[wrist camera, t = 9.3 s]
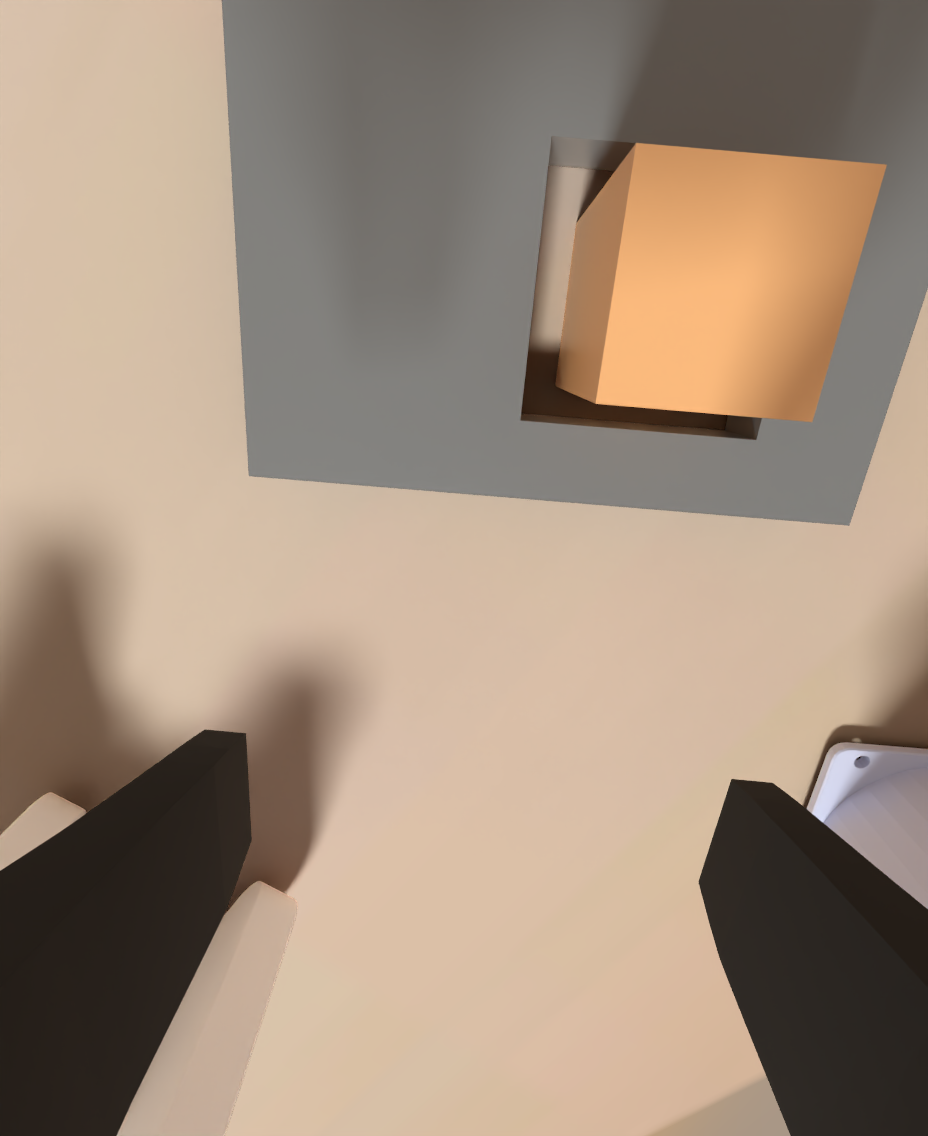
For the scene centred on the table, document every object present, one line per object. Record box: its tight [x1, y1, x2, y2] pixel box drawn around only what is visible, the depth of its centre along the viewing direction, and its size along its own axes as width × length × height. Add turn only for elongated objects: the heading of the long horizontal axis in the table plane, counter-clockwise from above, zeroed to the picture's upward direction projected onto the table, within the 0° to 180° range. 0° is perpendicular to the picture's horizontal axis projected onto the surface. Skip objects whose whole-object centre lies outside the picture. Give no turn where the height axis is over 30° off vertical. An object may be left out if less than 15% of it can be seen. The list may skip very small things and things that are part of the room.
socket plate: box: [222, 0, 928, 526], centre depth 14 cm, size 16×12×2 cm
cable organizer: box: [0, 792, 297, 1136], centre depth 19 cm, size 15×11×12 cm
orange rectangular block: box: [555, 143, 887, 422], centre depth 13 cm, size 4×4×6 cm
